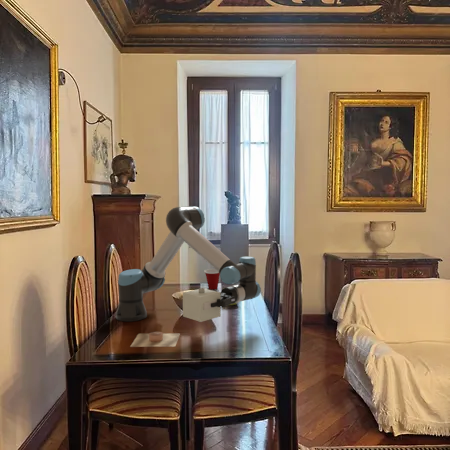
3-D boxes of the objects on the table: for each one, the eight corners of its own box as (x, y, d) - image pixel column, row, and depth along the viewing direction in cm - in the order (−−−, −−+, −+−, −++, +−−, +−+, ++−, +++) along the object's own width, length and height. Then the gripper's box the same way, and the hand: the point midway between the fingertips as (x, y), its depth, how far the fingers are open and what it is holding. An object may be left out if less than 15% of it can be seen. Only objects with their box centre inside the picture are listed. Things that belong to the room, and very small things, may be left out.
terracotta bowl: (148, 342, 180) (147, 335, 180) (150, 337, 185) (150, 331, 185) (161, 342, 180) (161, 335, 180) (163, 337, 185) (163, 331, 185)
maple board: (130, 350, 175) (130, 346, 175) (138, 337, 191) (138, 333, 191) (175, 350, 175) (175, 346, 174) (180, 336, 190) (180, 333, 190)
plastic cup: (202, 290, 280) (202, 271, 279) (206, 286, 290) (206, 268, 289) (219, 290, 278) (219, 271, 277) (222, 287, 288) (222, 268, 288)
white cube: (200, 322, 175) (200, 293, 174) (183, 316, 183) (182, 288, 182) (220, 316, 182) (220, 288, 181) (203, 311, 190) (202, 284, 189)
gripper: (252, 308, 186) (213, 318, 171) (214, 298, 203) (176, 307, 188) (252, 290, 186) (213, 299, 171) (214, 282, 203) (176, 290, 187)
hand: (194, 303), depth 179 cm, fingers closed on white cube, 11 cm apart
